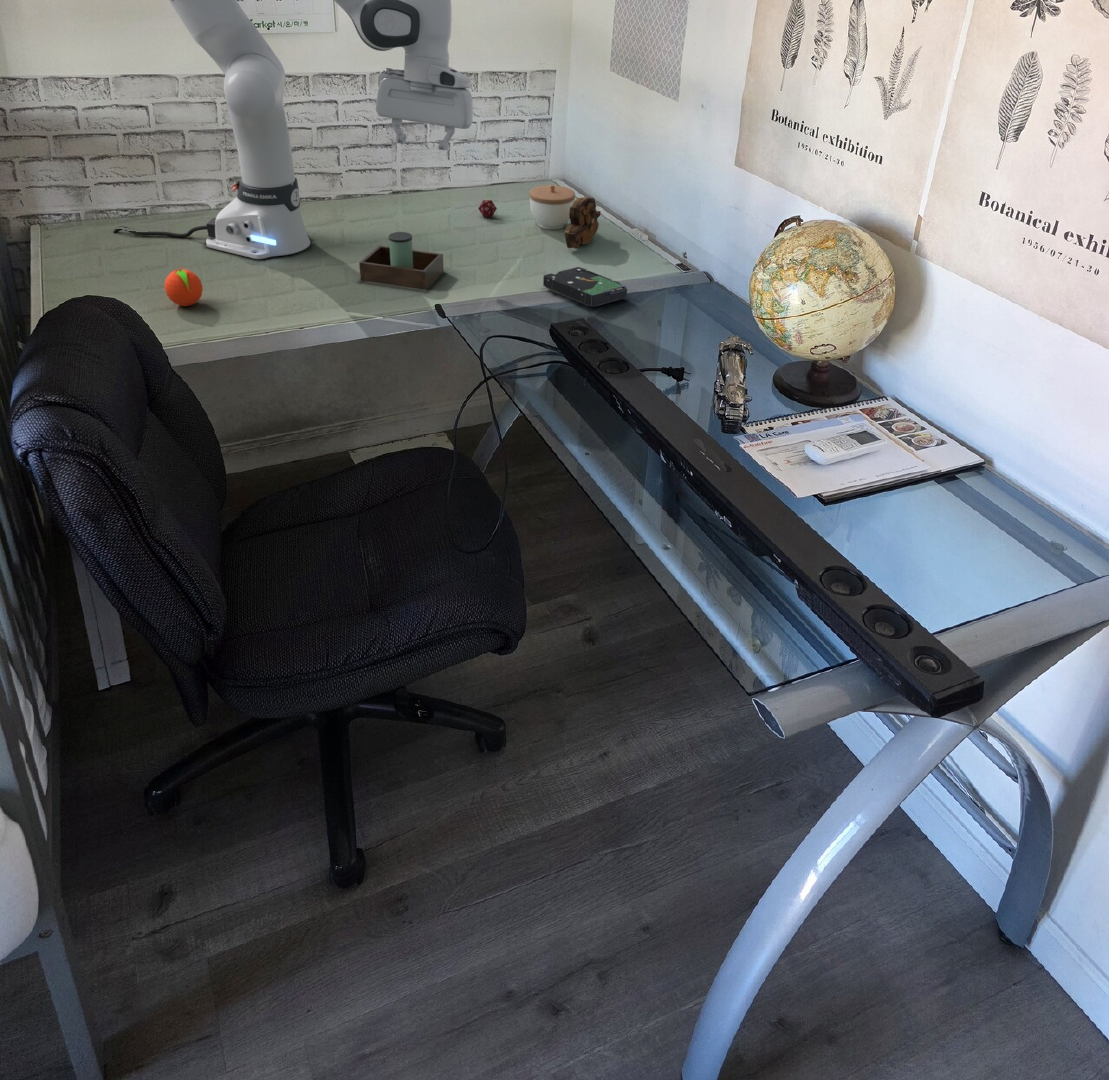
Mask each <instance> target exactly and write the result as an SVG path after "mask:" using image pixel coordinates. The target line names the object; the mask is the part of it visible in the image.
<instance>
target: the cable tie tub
mask: <svg viewBox="0 0 1109 1080" xmlns="http://www.w3.org/2000/svg"><path fill="white" fill-rule="evenodd" d="M388 242H389V247H390V259H391V266H396V267H403V268H410V269H413V252H412V250H413V235H412V234H411V233H410V232H407V231H396V232H392V233H390V234H388Z"/></svg>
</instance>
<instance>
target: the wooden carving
mask: <svg viewBox="0 0 1109 1080" xmlns="http://www.w3.org/2000/svg"><path fill="white" fill-rule="evenodd" d="M601 214H602V211H601V210H597V203H596V199H595V198H594V197H589V196H585V197H582V196H581V197H577V198H575V199H574V203H573V205H572V207H570V212H569V218H570V219H569V221H570V224H568V225H567V226H566V228H565V230H564V234H563V235H564V238H565V243H566V248H568V249H578V248H579V246H580V245H587V244H589V243H590V242H591V241H593V239H594V238H595V236H596V234H597V232H598V230H599V226H600V223H599V221H598V218H600V217H601Z"/></svg>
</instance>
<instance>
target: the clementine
mask: <svg viewBox="0 0 1109 1080" xmlns="http://www.w3.org/2000/svg"><path fill="white" fill-rule="evenodd" d="M164 281H165V282H164V291H165V295H166V296H167V297H168V299H169V300H170V301H171V302H172V303H174V304H176V305H177V306H180V307H189V306H192V305H195V304H197V303H198V301H199V300H201V297H202V294H203V283H202V281H201V279H200V277H199V276H198V275H197V274H196V273H194V272H193V271H191V270H189V269H186V268H185V269H184V268H179V269H175V270H173V271H172V272H170V273H169V274H168V275H167V277H166V278H165V280H164Z"/></svg>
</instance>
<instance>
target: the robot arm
mask: <svg viewBox="0 0 1109 1080" xmlns="http://www.w3.org/2000/svg"><path fill="white" fill-rule="evenodd" d="M333 1H334V2H335V3H336V4H337V5H338V6H339V7H340V8H341V9H342V10H343V11H344V12H345V13H346V14H347V15H348V17H349V18H350V19H351V21H352V23H353V25H354V28H355V30H356V32H357V34H358V36H359V38H360V39H361V41H362V42H363V43H364V44H365V45H366V46H368V47H369V48H371V49H372V50H375V51H378V52H388V51H391V50H393V49H396V48H403V49H404V63H403V65H404V67H403V69H393V68H389V67H386V68H385V69H383V70H381V71H380V72H379V73H378V76H377V86H378V90H377V94H376V103H375V112H376V113H377V116H378V117H380V118H389V119H391V126H392V128H393V130H394V133H395V135H396V136H395V137H396V139H395V142H396V144H401V145H405V144H406V143H407V134H405V133H403V131H402V128H401V125H403V121H406V122H407V121H408V122H416V123H421V124H428V125H434V126H435V125H436V126H441V127H444V133H445V136H444V137H443V139H440V140H438V150H441V151H448V150H449V142H450V141H451V139H452V137H453V136H454V135H455V132H456V131H455V130H456V129H460V130H461V129H462V130H467V129H470V127H471V126H472V124H473V120H474V119H473V118H474V102H473V101H474V100H473V96H472V93H471V91H470V90H469V89H470V87H471V83H472V79H471V78H470V77H469V76H467V75H466V74H464V73H462V72H460V71H458V70H456V69H454V68H453V67H450V55H449V44H450V40H451V37H452V23H453V22H452V21H453V19H452V18H453V16H452V15H453V13H452V0H333ZM168 2H169V3H170V5H171V6H172V8H173V9H174V11H175V12H176V14H177V15H178V17H179V19H180V20H181V21H182V23H183V25H184V26H185V27H186V29H187V31H188V32H189V33H190V35H191V37H192V39H193V40H194V41H195V42H196V43H197V44H198V46H200V47H201V48H202V49H203V50H204V51H205V53H207V55H208V56H209V57H210V58H211V59H212V61H213V62H214V63H215V64H216V65H217V66H218V68H219V69H220V70H221V72H222V73H223V74H224V79H223V93H224V98H225V102H226V107H227V111H228V116H229V120H230V124H231V129H232V132H233V136H234V139H235V143H236V149H237V156H238V162H239V169H240V176H241V179H239V180H237V181H236V183H234V184H232V185H231V187H232V189H231V190H232V192H234V191H236V190H237V193H236V197H235V198H234V199H232V200H231V201H230V202H229V203H228V204H227V205H226V206H224V207H223V208H222V209H221V210H220V211H219V212H218V213H217V215H216V217H212V218H211V219H210V220H209V221H207V223H206V225H199V226H195V227H192V228H190V229H189V230H188V231H187V232H184V233H176V232H169V231H149V230H147V231H148V232H136V231H127V230H124V231H125V232H128V233H131V234H134V235H137V236H163V237H164V236H165V237H172V238H179V239H183V238H188V237H190V236H192V234H194V233H196V232H198V231H204V230H206V231H207V238H206V247H207V248H209V249H214V250H217V251H222V252H226V253H230V254H235V255H238V256H243V257H246V258H251V259H254V260H263V259H268V258H271V257H279V256H288V255H294V254H296V253H299V252H302V251H304V250H306V249H307V248H309V246H310V245H311V240H310V238H309V235H308V233H307V230H306V227H305V224H304V219H303V216H302V211H301V207H300V206H301V199H300V189H299V182H298V178H297V177H296V175H295V173H296V172H295V166H294V159H293V157H294V156H293V150H292V149H293V147H292V141H291V138H290V133H289V129H288V123H287V117H286V112H285V106H284V91H285V87H286V84H287V83H286V81H287V78H286V72H285V69H284V65H283V63H282V62H281V60H280V58H278V56H277V55H276V53H275V52H274V50H273V49H272V48H271V46H270V45H269V43H268V41H266V39H265V38H264V36H263V35H262V34H261V33H260V31H259V30H258V28H257V27H256V26H255V25H254V23H253V22H252V21H251V20H250V18H249V17H248V16H247V14H246V13H245V11H244V10H243V9H242V7H241V5H240V4H239V2H238V0H168ZM118 227H124V228H129V229H130V227H128V226H125V225H124V226H123V225H121V226H118ZM120 231H123V230H122V229H116V228H114V229H113V231H112V233H113V234H117V233H119V232H120Z"/></svg>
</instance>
